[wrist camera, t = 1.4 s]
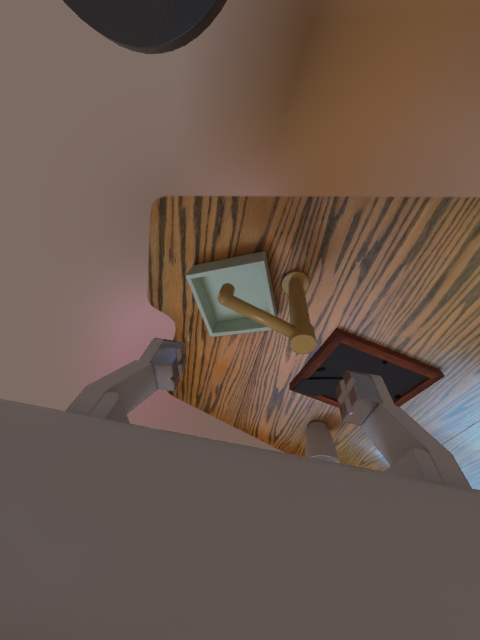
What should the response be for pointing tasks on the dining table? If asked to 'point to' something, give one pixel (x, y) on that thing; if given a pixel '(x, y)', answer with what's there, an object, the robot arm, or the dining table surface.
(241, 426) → the dining table surface
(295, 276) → the faucet base
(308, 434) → the cup
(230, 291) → the spout
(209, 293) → the sink
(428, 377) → the picture frame
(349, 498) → the robot arm
